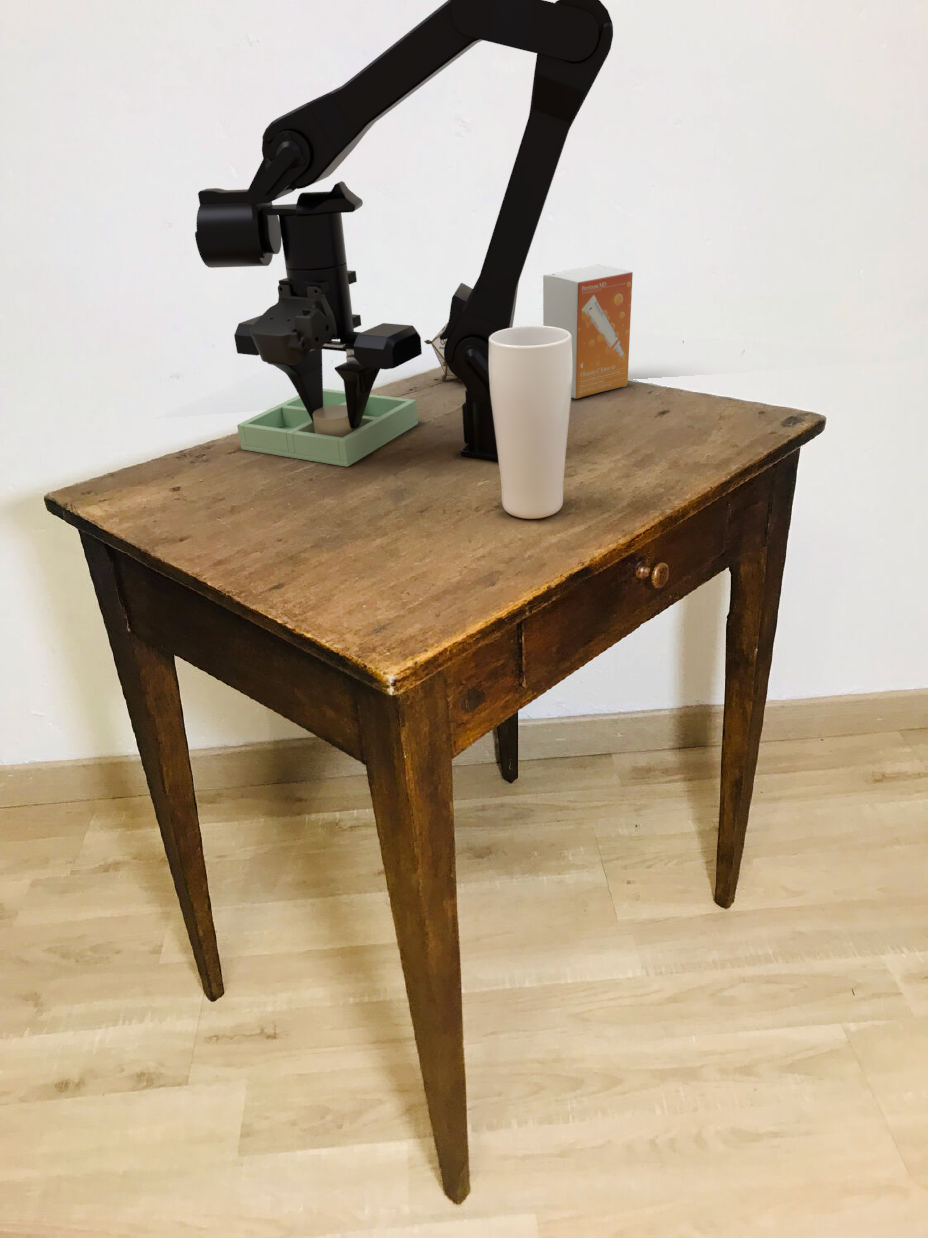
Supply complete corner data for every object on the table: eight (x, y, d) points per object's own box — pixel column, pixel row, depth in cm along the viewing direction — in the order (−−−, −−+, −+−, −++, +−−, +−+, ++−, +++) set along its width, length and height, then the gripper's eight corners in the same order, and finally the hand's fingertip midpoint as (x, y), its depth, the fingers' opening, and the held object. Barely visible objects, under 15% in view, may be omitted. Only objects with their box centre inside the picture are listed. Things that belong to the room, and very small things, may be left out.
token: (366, 430, 98) (364, 407, 97) (342, 444, 95) (339, 421, 94) (332, 425, 100) (329, 402, 99) (306, 438, 97) (303, 415, 95)
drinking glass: (579, 496, 85) (581, 326, 77) (560, 528, 79) (561, 348, 72) (506, 490, 87) (501, 323, 79) (483, 520, 82) (476, 344, 74)
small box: (576, 400, 108) (577, 281, 102) (542, 388, 113) (541, 273, 106) (629, 386, 112) (634, 270, 105) (594, 374, 117) (596, 263, 110)
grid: (418, 423, 104) (416, 399, 103) (347, 467, 94) (344, 440, 93) (317, 410, 110) (314, 387, 109) (241, 449, 100) (236, 424, 99)
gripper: (181, 276, 87) (213, 439, 95) (349, 287, 79) (368, 464, 87) (259, 254, 95) (282, 405, 103) (418, 262, 87) (430, 426, 95)
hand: (336, 424), depth 97 cm, fingers closed on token, 4 cm apart
